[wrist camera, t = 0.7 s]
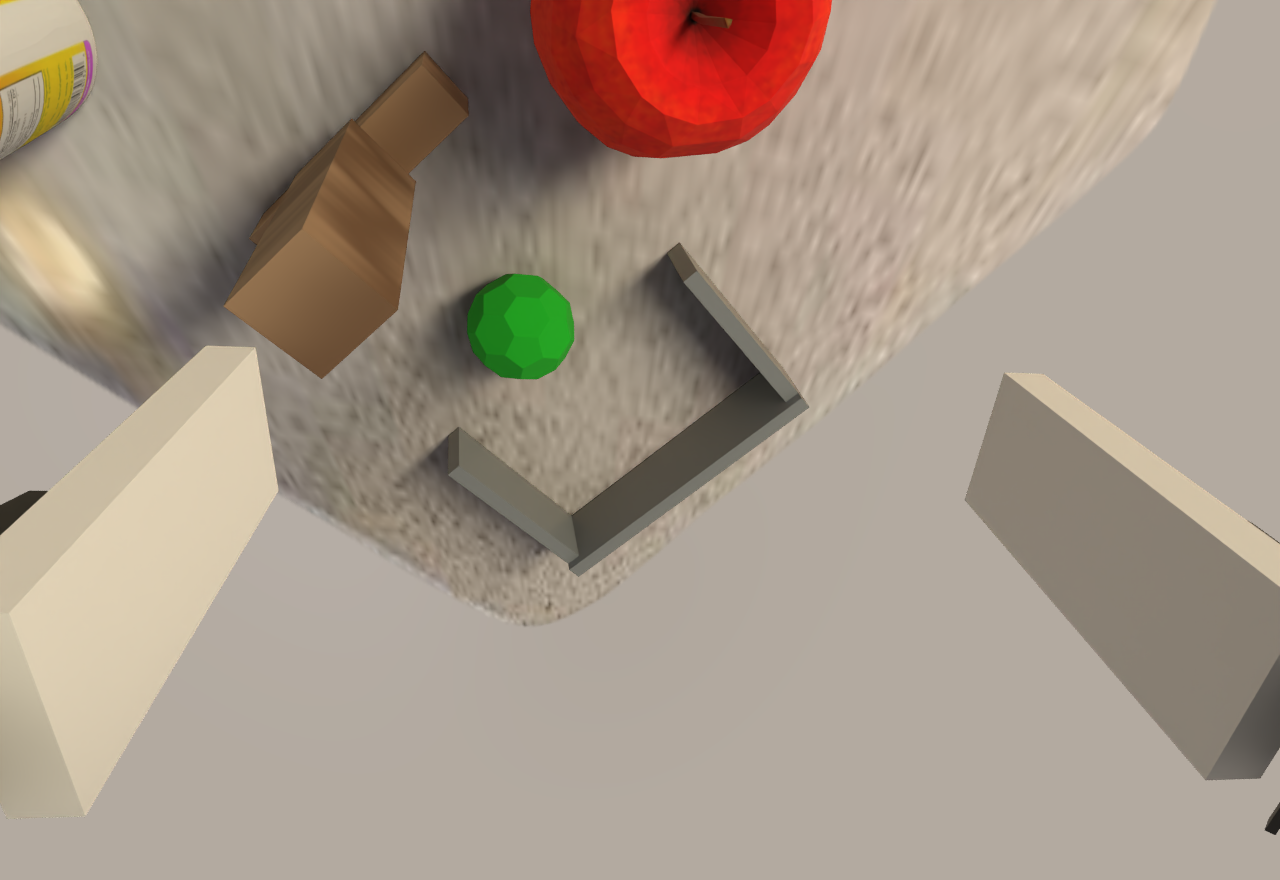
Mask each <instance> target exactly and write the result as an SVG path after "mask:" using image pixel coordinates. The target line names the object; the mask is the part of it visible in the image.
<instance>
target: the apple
mask: <svg viewBox="0 0 1280 880" xmlns="http://www.w3.org/2000/svg"><path fill="white" fill-rule="evenodd" d="M831 3H832V0H531V7H530V14H531V22H532V30H533V38H534V44H535V47H536V49H537V52H538V54H539V57H540V59H541V62H542V64H543V67H544V69H545V72H546V74H547V77H548V79H549V82H550V84H551V85H552V87H553V88H554V90H555V91H556V92H557V94H558V95H559V97H560V98H561V99H562V101H563V102H564V103H565V105H566V106H567V108H568V109H569V110H570V112H571V113H572V115H573V116H574V117H575V119H576V120H577V122H578V123H580V124H581V125H582V126H583V127H584V128H585V129H587V130H588V131H589V132H590V133H591V134H593V135H594V136H595V137H596V138H597V139H599V140H600V141H601V142H602V143H603V144H605V145H606V146H607V147H609V148H612V149H615V150H618V151H620V152H623V153H626V154H629V155H631V156H634V157H650V158H669V157H680V156H690V155H701V154H711V153H718V152H720V151H723V150H725V149H728V148H730V147H733V146H736V145H738V144H741V143H743V142H746V141H748V140H750V139H751V138H752V137H754V136H755V135H756V134H758V133H759V132H760V131H762V130H763V129H764V128H766V127H767V126H768V125H770V123H771V122H772V121H773V120H774V119H775V118H776V116H777V115H778V114H779V113H780V112H781V111H782V110H783V108H784V107H785V106H786V105H787V104H788V103H789V102H790V100H791V99H792V98H793V97H794V96H795V95H796V93H797V91H798V89H799V88H800V86H801V84H802V82H803V81H804V79H805V77H806V75H807V74H808V72H809V70H810V68H811V67H812V65H813V63H814V61H815V60H816V58H817V56H818V54H819V52H820V50H821V47H822V43H823V39H824V35H825V31H826V27H827V23H828V19H829V15H830V11H831Z"/></svg>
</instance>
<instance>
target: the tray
mask: <svg viewBox="0 0 1280 880" xmlns="http://www.w3.org/2000/svg"><path fill="white" fill-rule="evenodd" d="M667 254H668V256H669V258H670V259H671V261H672V263H673V265H674V266H675V268H676V270H677V272H678V273H679V275H680V277H681V279H682V280H683V282H684V283H685V285H686V286H687V287H688V288H689V289H690V290H691V292H692V293H693V294H694V295H695V296H696V297H697V299H698V300H699V301H700V302H701V303H702V304H703V306H704V307H705V308H706V309H707V310H708V311H709V313H710V314H711V315H712V316H713V317H714V319H715V320H716V321H717V322H718V323H719V324H720V326H721V327H722V328H723V329H724V330H725V331H726V333H727V334H728V335H729V336H730V337H731V338H732V340H733V341H734V342H735V343H736V344H737V345H738V347H739V348H740V349H741V350H742V351H743V353H744V354H745V355H746V356H747V357H748V358H749V360H750V361H751V362H752V363H753V364H754V365H755V367H756V368H757V369H758V370H759V371H760V373H759V374H758V375H756V376H755V377H754V378H753V379H751V380H750V381H749V382H747V383H746V384H745V385H743V386H742V387H741V388H739V389H738V390H737V391H735V392H734V393H733V394H731V395H730V396H729V397H728V398H726V399H725V400H724V401H722V402H721V403H720V404H718V405H717V406H716V407H714V408H713V409H712V410H710V411H709V412H708V413H707V414H705V415H704V416H703V417H701V418H700V419H699V420H697V421H696V422H695V423H693V424H692V425H691V426H689V427H688V428H687V429H686V430H684V431H683V432H682V433H680V434H679V435H678V436H676V437H675V438H674V439H672V440H671V441H670V442H668V443H667V444H666V445H664V446H663V447H662V448H661V449H659V450H658V451H657V452H655V453H654V454H653V455H651V456H650V457H649V458H647V459H646V460H645V461H643V462H642V463H641V464H640V465H638V466H637V467H636V468H634V469H633V470H632V471H630V472H629V473H628V474H626V475H625V476H624V477H622V478H621V479H620V480H618V481H617V482H616V483H615V484H613V485H612V486H611V487H609V488H608V489H607V490H605V491H604V492H603V493H601V494H600V495H599V496H597V497H596V498H595V499H594V500H592V501H591V502H590V503H588V504H587V505H586V506H584V507H583V508H582V509H580V510H579V511H578V512H576V513H575V514H574V515H572V516H571V515H570V514H569V513H567V512H566V511H565V510H563V509H562V508H561V507H560V506H558V505H557V504H556V503H555V502H553V501H552V500H551V499H549V498H548V497H547V496H546V495H544V494H543V493H542V492H541V491H539V490H538V489H537V488H536V487H534V486H533V485H532V484H530V483H529V482H528V481H527V480H525V479H524V478H523V477H522V476H520V475H519V474H518V473H517V472H515V471H514V470H513V469H511V468H510V467H509V466H508V465H506V464H505V463H504V462H503V461H501V460H500V459H499V458H497V457H496V456H495V455H494V454H492V453H491V452H490V451H489V450H487V449H486V448H485V447H484V446H482V445H481V444H480V443H478V442H477V441H476V440H475V439H473V438H472V437H471V436H470V435H468V434H467V433H466V432H465V431H463V430H462V429H461V428H457V429H456V430H455V431H454V432H453V433H451V434H450V435H449V436H448V476H450V477H451V478H453V479H454V480H455V481H457V482H458V483H459V484H461V485H462V486H463V487H465V488H466V489H467V490H469V491H470V492H472V493H473V494H474V495H476V496H477V497H478V498H480V499H481V500H482V501H484V502H485V503H486V504H488V505H489V506H491V507H492V508H493V509H495V510H496V511H497V512H499V513H500V514H501V515H503V516H504V517H506V518H507V519H508V520H510V521H511V522H512V523H514V524H515V525H516V526H518V527H519V528H520V529H522V530H523V531H525V532H526V533H527V534H529V535H530V536H531V537H533V538H534V539H535V540H537V541H538V542H540V543H541V544H542V545H544V546H545V547H546V548H548V549H549V550H550V551H552V552H553V553H554V554H556V555H557V556H559V557H560V558H561V559H563V560H564V561H565V562H567V563H568V564H569V570H570V571H572V572H573V573H574V574H576V575H577V576H578V577H579V576H580V575H582V574H583V573H584V572H586V571H587V570H588V569H590V568H591V567H593V566H594V565H595V564H597V563H598V562H599V561H601V560H602V559H603V558H605V557H606V556H608V555H609V554H610V553H612V552H613V551H614V550H616V549H617V548H618V547H620V546H621V545H623V544H624V543H625V542H627V541H628V540H629V539H631V538H632V537H633V536H635V535H636V534H637V533H639V532H640V531H642V530H643V529H644V528H646V527H647V526H648V525H650V524H651V523H652V522H654V521H655V520H657V519H658V518H659V517H661V516H662V515H663V514H665V513H666V512H667V511H669V510H670V509H672V508H673V507H674V506H676V505H677V504H678V503H680V502H681V501H682V500H684V499H685V498H687V497H688V496H689V495H691V494H692V493H693V492H695V491H696V490H697V489H699V488H700V487H702V486H703V485H704V484H706V483H707V482H708V481H710V480H711V479H712V478H714V477H715V476H717V475H718V474H719V473H721V472H722V471H723V470H725V469H726V468H727V467H729V466H730V465H731V464H733V463H734V462H736V461H737V460H738V459H740V458H741V457H742V456H744V455H745V454H746V453H748V452H749V451H751V450H752V449H753V448H755V447H756V446H757V445H759V444H760V443H761V442H763V441H764V440H766V439H767V438H768V437H770V436H771V435H772V434H774V433H775V432H776V431H778V430H779V429H781V428H782V427H783V426H785V425H786V424H787V423H789V422H790V421H791V420H793V419H794V418H796V417H797V416H798V415H800V414H801V413H802V412H804V411H805V410H806V409H808V408H809V406H808V404H807V403H806V401H805V400H804V398H803V397H802V395H801V394H800V392H799V391H798V389H797V388H796V386H795V385H794V383H793V382H792V380H791V379H790V377H789V376H788V374H787V373H786V372H785V370H784V369H783V367H782V366H781V365H780V364H779V363H778V361H777V360H776V359H775V358H774V357H773V355H772V354H771V353H770V352H769V350H768V349H767V348H766V347H765V346H764V344H763V343H762V342H761V341H760V340H759V338H758V337H757V336H756V335H755V333H754V332H753V331H752V330H751V329H750V327H749V326H748V325H747V324H746V323H745V321H744V320H743V319H742V318H741V316H740V315H739V314H738V313H737V312H736V310H735V309H734V308H733V307H732V306H731V304H730V303H729V302H728V301H727V299H726V298H725V297H724V296H723V295H722V293H721V292H720V291H719V290H718V289H717V287H716V286H715V285H714V284H713V282H712V281H711V280H710V279H709V278H708V276H707V275H706V274H705V273H704V272H703V270H702V269H701V268H700V267H699V265H698V264H697V263H696V262H695V261H694V259H693V258H692V257H691V256H690V255H689V253H688V252H687V251H686V250H685V248H684V247H683V246H682V245H681V244H680V243H679V244H678V245H676V246H675V247H674V248H673V249H672V250H670V251H669V252H668V253H667Z"/></svg>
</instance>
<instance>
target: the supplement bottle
mask: <svg viewBox="0 0 1280 880" xmlns="http://www.w3.org/2000/svg"><path fill="white" fill-rule="evenodd" d="M96 70H97V52H96V45H95V40H94V36H93V33H92V30H91V27H90V24H89V22H88V19H87V17H86V15H85V13H84V11H83V9H82V7H81V6H80V4H79V3H78V1H77V0H0V160H1V159H3V158H4V157H6V156H8V155H9V154H11V153H12V152H14V151H16V150H17V149H19V148H21V147H22V146H24V145H26V144H27V143H29V142H31V141H32V140H33V139H35V138H37V137H38V136H40V135H42V134H43V133H45V132H47V131H48V130H50V129H51V128H53V127H54V126H56V125H58V124H59V123H61V122H62V121H64V120H65V119H66V118H68V117H69V116H70V115H72V114H73V113H74V112H75V111H76V110H77V109H78V108H79V107H80V106H81V105H82V104H83V103H84V101H85V100H86V99H87V97H88V95H89V94H90V92H91V90H92V87H93V84H94V81H95V77H96Z"/></svg>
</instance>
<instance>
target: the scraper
mask: <svg viewBox="0 0 1280 880" xmlns="http://www.w3.org/2000/svg"><path fill="white" fill-rule="evenodd" d="M468 116H469V111H468V98H467V97H466V96H465V95H464V94H463V93H462V92H461V91H460V89H459V88H458V87H457V86H456V85H455V84H454V83H453V82H452V81H451V79H450V78H449V77H448V76H447V75H446V74H445V73H444V72H443V71H442V70H441V68H440V67H439V66H438V65H437V64H436V63H435V62H434V61H433V60H432V58H431V57H430V56H429V55H428V54H427V53H426V52H425V51H424V52H423V53H422V54H421V55H420V56H419V57H418V58H417V59H416V60H415V61H414V62H413V63H412V64H411V65H410V66H409V67H408V68H407V69H406V70H405V71H404V72H403V73H402V74H401V75H400V76H399V77H398V78H397V79H396V80H395V81H394V82H393V83H392V84H391V85H390V86H389V87H388V89H387V90H386V91H385V92H384V93H383V94H382V95H381V96H380V97H379V98H378V99H377V100H376V101H375V102H374V103H373V104H372V105H371V106H370V107H369V108H368V109H367V110H366V111H365V112H364V113H363V114H362V115H361V116H360V117H359V118H358V119H357V120H356V121H354V120H353V119H351V120H350V121H349V122H348V123H347V124H346V125H345V126H344V127H343V128H342V129H341V130H340V131H339V132H338V133H337V134H336V135H335V136H334V137H333V138H332V139H331V140H330V141H329V142H328V143H327V144H326V145H325V146H324V147H323V148H322V149H321V150H320V151H319V152H318V153H317V154H316V155H315V156H314V157H313V158H312V159H311V160H310V161H309V162H308V163H307V164H306V165H305V166H304V167H303V168H302V169H301V171H300V172H299V173H298V174H297V175H296V176H295V178H294V180H293V182H292V183H291V185H290V187H289V189H288V190H287V191H286V192H285V193H284V194H283V195H282V196H281V197H280V198H279V199H278V200H277V201H276V202H275V203H274V204H273V205H272V206H271V207H270V208H269V209H268V210H267V211H266V212H265V213H264V214H263V216H262V217H261V219H260V221H259V223H258V224H257V226H256V228H255V229H254V231H253V233H252V234H251V236H250V238H249V239H250V240H251V241H253V242H254V243H255V244H256V245H257V247H256V248H255V250H254V252H253V254H252V256H251V257H250V259H249V261H248V263H247V265H246V266H245V268H244V270H243V272H242V274H241V275H240V277H239V279H238V281H237V283H236V284H235V286H234V288H233V290H232V292H231V293H230V295H229V297H228V299H227V301H226V302H225V304H224V307H225V308H226V309H228V310H229V311H230V312H232V313H233V314H234V315H236V316H237V317H238V318H240V319H241V320H243V321H244V322H245V323H247V324H248V325H249V326H251V327H252V328H253V329H255V330H256V331H257V332H259V333H260V334H261V335H263V336H264V337H266V338H267V339H268V340H270V341H271V342H272V343H274V344H275V345H276V346H278V347H279V348H280V349H282V350H283V351H284V352H286V353H287V354H289V355H290V356H291V357H293V358H294V359H295V360H297V361H298V362H299V363H301V364H302V365H303V366H305V367H306V368H308V369H309V370H310V371H312V372H313V373H314V374H316V375H317V376H318V377H320V378H321V379H322V378H323V377H325V376H326V375H327V374H328V373H329V372H330V371H331V370H332V369H333V368H334V367H336V366H337V365H338V364H339V363H340V362H341V361H342V360H343V359H344V358H345V357H347V356H348V355H349V354H350V353H351V352H352V351H353V350H354V349H355V348H356V347H358V346H359V345H360V344H361V343H362V342H363V341H364V340H365V339H366V338H367V337H369V336H370V335H371V334H372V333H373V332H374V331H375V330H376V329H377V328H378V327H380V326H381V325H382V324H383V323H384V322H385V321H386V320H387V319H388V318H389V317H391V316H392V315H393V314H394V313H395V312H396V311H397V310H398V305H399V298H400V290H401V283H402V276H403V269H404V262H405V255H406V248H407V240H408V233H409V226H410V219H411V212H412V205H413V198H414V191H415V183H416V181H415V180H414V179H413V178H412V177H411V176H410V175H409V173H410V172H411V171H412V170H413V169H414V168H415V167H416V166H417V165H418V164H419V163H420V162H421V161H422V160H423V159H424V158H425V157H426V156H427V155H428V154H429V153H430V152H431V151H432V150H433V149H434V148H436V147H437V146H438V145H439V144H440V143H441V142H442V141H443V140H444V139H445V138H446V137H447V136H448V135H449V134H450V133H451V132H452V131H453V130H454V129H455V128H456V127H457V126H458V125H459V124H460V123H461V122H462V121H463V120H465V119H466V118H467V117H468Z"/></svg>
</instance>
